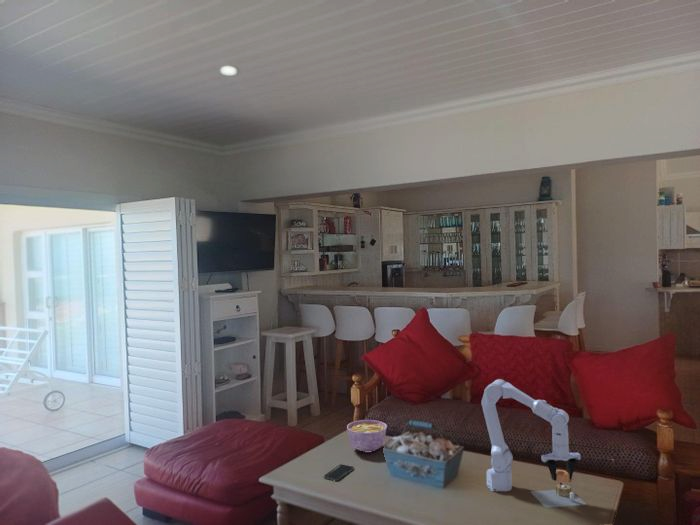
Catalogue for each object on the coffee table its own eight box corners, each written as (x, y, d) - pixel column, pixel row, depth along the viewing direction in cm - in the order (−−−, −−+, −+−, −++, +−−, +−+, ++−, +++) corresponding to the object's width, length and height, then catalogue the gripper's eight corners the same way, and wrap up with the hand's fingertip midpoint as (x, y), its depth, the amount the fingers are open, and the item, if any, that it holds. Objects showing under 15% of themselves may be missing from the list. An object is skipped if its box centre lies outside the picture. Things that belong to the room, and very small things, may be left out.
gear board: (545, 511, 191) (545, 499, 191) (530, 495, 204) (529, 484, 204) (586, 508, 192) (586, 496, 192) (568, 492, 205) (568, 481, 205)
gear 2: (560, 497, 198) (560, 487, 198) (553, 490, 204) (553, 481, 204) (573, 496, 199) (573, 486, 199) (566, 489, 204) (566, 480, 204)
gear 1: (558, 483, 193) (557, 476, 193) (551, 477, 198) (550, 470, 198) (572, 482, 194) (571, 475, 194) (564, 476, 199) (564, 469, 199)
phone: (322, 476, 225) (340, 463, 238) (322, 479, 225) (340, 466, 238) (338, 480, 221) (355, 467, 234) (338, 482, 221) (355, 469, 234)
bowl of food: (395, 447, 258) (394, 424, 258) (372, 460, 243) (371, 436, 242) (363, 439, 271) (362, 417, 271) (339, 451, 255) (338, 428, 255)
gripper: (547, 448, 191) (548, 484, 191) (584, 445, 193) (585, 482, 193) (538, 441, 198) (539, 476, 198) (574, 439, 200) (575, 474, 200)
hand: (561, 479), depth 196 cm, fingers closed on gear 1, 5 cm apart
